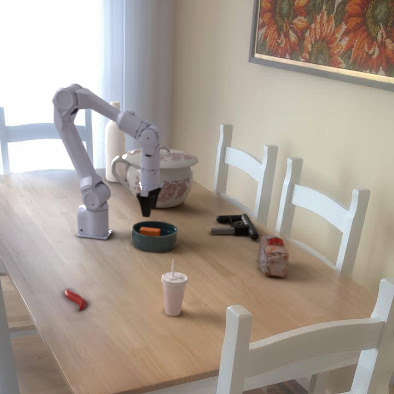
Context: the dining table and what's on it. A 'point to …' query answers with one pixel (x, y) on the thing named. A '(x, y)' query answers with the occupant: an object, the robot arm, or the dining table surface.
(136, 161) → the chamber pot
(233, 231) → the machine pistol
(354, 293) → the dining table surface
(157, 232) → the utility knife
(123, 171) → the bottle
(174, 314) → the smoothie
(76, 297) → the cayenne pepper
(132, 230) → the bowl
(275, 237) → the food item
